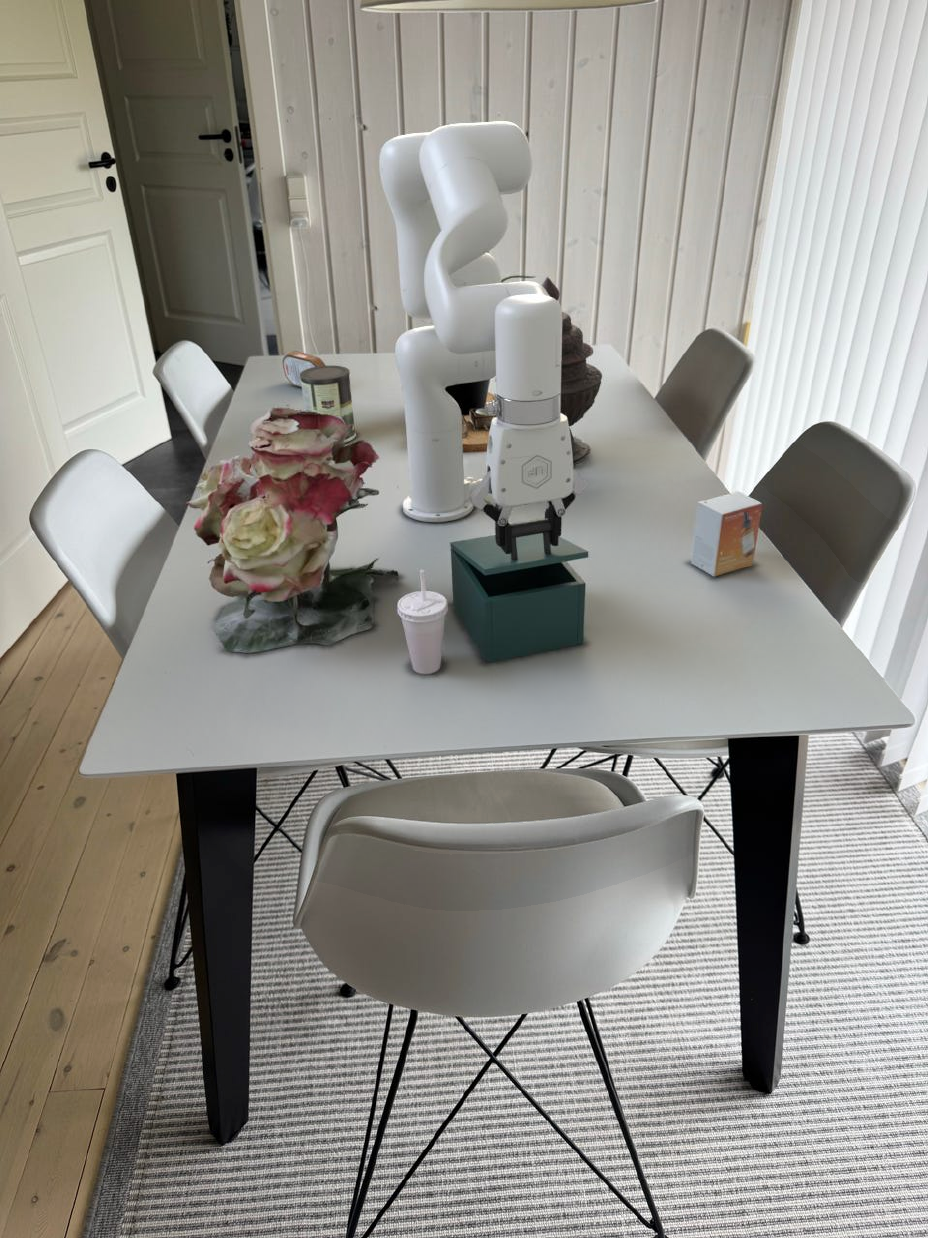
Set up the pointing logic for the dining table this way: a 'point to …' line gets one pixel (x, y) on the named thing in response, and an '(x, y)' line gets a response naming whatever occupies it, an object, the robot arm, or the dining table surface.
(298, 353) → the tin
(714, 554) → the small box
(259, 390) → the dining table surface
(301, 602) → the rose bouquet
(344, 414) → the coffee can
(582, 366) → the decorative urn
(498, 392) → the robot arm
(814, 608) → the dining table surface
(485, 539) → the bin lid
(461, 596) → the bin
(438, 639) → the smoothie
